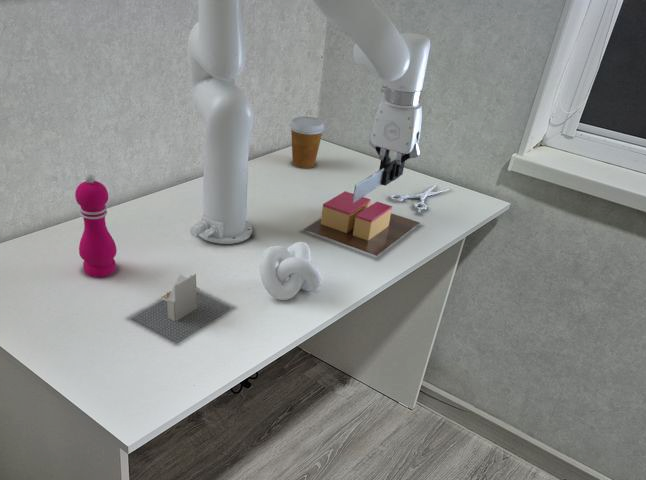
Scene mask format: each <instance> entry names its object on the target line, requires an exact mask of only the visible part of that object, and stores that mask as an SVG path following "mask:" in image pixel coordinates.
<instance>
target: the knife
mask: <svg viewBox="0 0 646 480" xmlns="http://www.w3.org/2000/svg"><path fill="white" fill-rule="evenodd" d="M395 162H396V158H395V159H393V160H392V161H390V163H389V164H387V165H386V166H384V167H382V168H381V169H380V168H379V169H378V170H377V171H375V172H374V173H372V174H370V175H369V176H368V177H366V178H364V179H363V180H361V181H360V182H358V183H356V184H355V185H354V189H353V194H354V196H353V203H354V202H356V201H358V200H359V199H361V198H362V197H365V196H367V195H368V194H370V193H371V192H373V191H374V190H376V189H377V188H379V187H380V186H387V185H389V184H391V183H392V182H393V181H392V180H391V175H392V167H393V164H394V163H395ZM405 164H406V161H404V162H403V166H402V171H401V175H400V177H401V176H402V175H404V168H405Z"/></svg>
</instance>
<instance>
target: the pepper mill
mask: <svg viewBox="0 0 646 480" xmlns="http://www.w3.org/2000/svg"><path fill="white" fill-rule="evenodd" d="M74 195H75V196H74V197H75V200H76V203H77V204H78V205H79V214H80V217H82V219H83V224H84V226H83V232H82V236H81V238H80V241H79V246H78V253H79V254H78V255H79V257H80V258H81V259H82V260H83V263H82V264H83V265H82V266H83V271H84V274H86V275H87V276H89V277H91V278H104V277H105V278H106V277H108V276H110V275H113V274H114V273H115V271H116V270H117V267H116V266H117V265H116V259H115V257H116V256H117V246H116V242H115V240H114V238H113V236H112V234H111V233H110V231H109V230H108V228H107V223H106V216H107V215H108V211H107V210H108V207H107V205H106V204H107V203H108V202H109V192H108V189H107V187H106V186H105V185H104V184H103V183H102V182H100V181H98V180H96V177H95V175H94V174H92V173H87V174H86V175H85V177H84V181H83V182H81V183H79V184H78V185H77V187H76V189H75V193H74Z"/></svg>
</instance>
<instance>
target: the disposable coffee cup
mask: <svg viewBox="0 0 646 480" xmlns="http://www.w3.org/2000/svg"><path fill="white" fill-rule="evenodd" d="M289 127H290V131H291V155H292V156H291V157H292V166H295V167H297V168H299V169H310V168H314V167H315V165H316V161H317V157H318V154H319V153H318V152H319V149H320V143H321V139H322V136H323V132H324V130H325V129H326V127H325V124H324V121H323V120H322V119H320V118H317V117H314V116H296V117H293V118H292V119H291V122H290V123H289Z"/></svg>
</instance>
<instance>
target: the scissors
mask: <svg viewBox="0 0 646 480" xmlns="http://www.w3.org/2000/svg"><path fill="white" fill-rule="evenodd" d="M437 186H438V184H435V185H434V186H431V188H429V189H427V190H426V191H424V192H422V193H417V194H406V195H404V194H391V195H390V196H389V199H391V200H394V201H397V202H404V200H405V199H420V202H414V203H413V207H414V208H416V209H418V210H417V212H418V213H421V212H422V211H421V210H427V204H426V203H425V199H426V198H427V197H430V196H433V195H436V194H437V195H438V194H440V193H443V192H446V191H449V190H450V188H447V189H442V190H438V191H433V190H434V189H435V188H436V187H437Z"/></svg>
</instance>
